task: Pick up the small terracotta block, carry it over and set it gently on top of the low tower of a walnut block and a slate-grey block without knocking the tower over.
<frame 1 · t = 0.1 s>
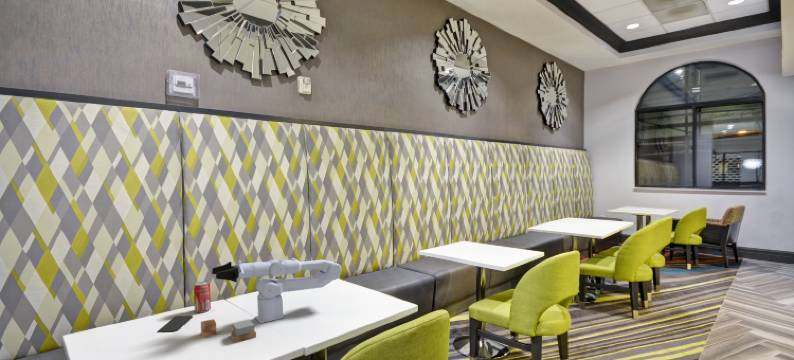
hand: (214, 273, 148), 22 cm above the table, tool horizontal, fingers open, 7 cm apart
tower top: (243, 331, 143), point 2 cm above the table
phone: (176, 325, 156), on the table
terracotta block: (208, 334, 146), on the table
tower base: (243, 337, 143), on the table
soda can: (202, 311, 170), on the table
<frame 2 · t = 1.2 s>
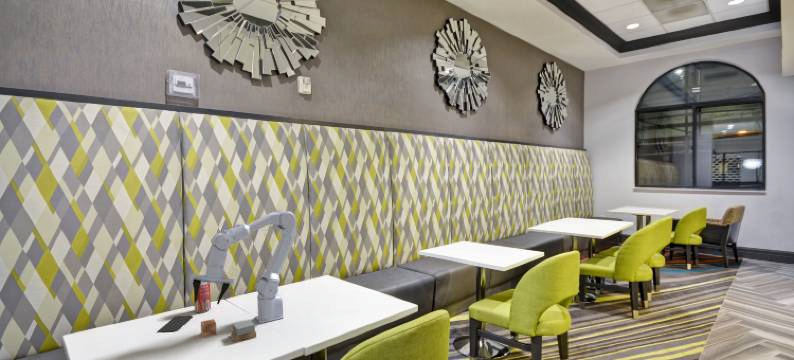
hand: (206, 302, 145), 12 cm above the table, tool tilted 15°, fingers open, 7 cm apart
tower top: (244, 331, 143), point 2 cm above the table, touching tower base
tower base: (243, 338, 143), on the table, touching tower top
everything else where it was.
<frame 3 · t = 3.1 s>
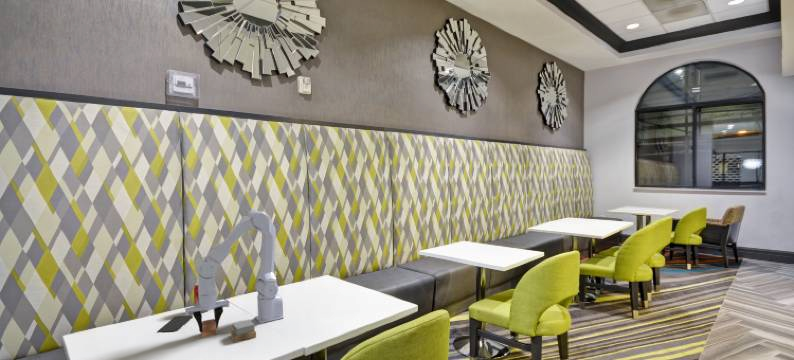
hand: (208, 329, 146), 2 cm above the table, tool pointing down, fingers closed on terracotta block, 4 cm apart
tower top: (243, 330, 143), point 2 cm above the table
terracotta block: (208, 334, 146), on the table, touching gripper
tower base: (243, 337, 143), on the table
everything else where it was.
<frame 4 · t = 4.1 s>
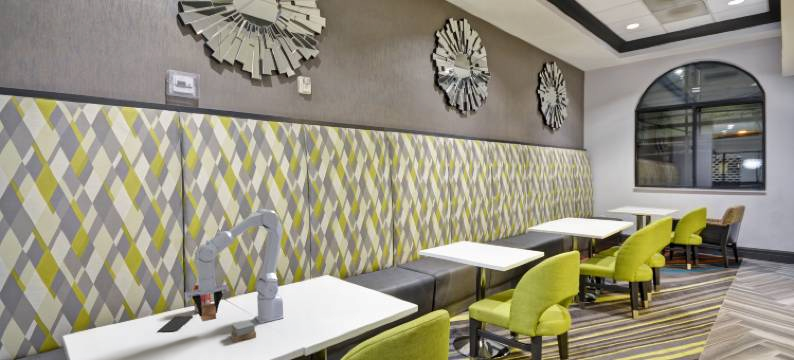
hand: (208, 313, 146), 8 cm above the table, tool pointing down, fingers closed on terracotta block, 4 cm apart
tower top: (243, 331, 143), point 2 cm above the table, touching tower base
terracotta block: (208, 318, 146), point 6 cm above the table, touching gripper
tower base: (243, 338, 143), on the table, touching tower top
everything else where it was.
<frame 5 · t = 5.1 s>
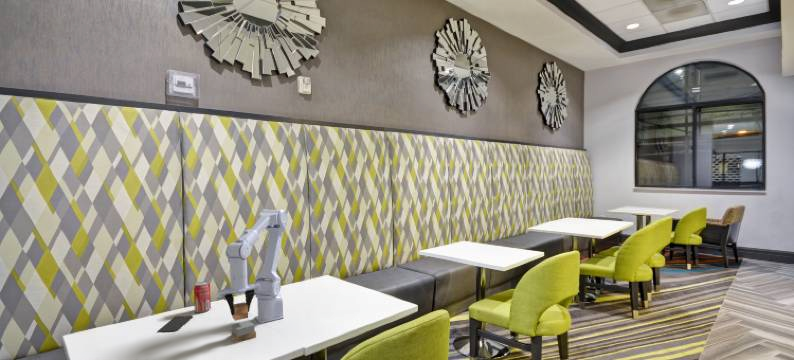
hand: (240, 312, 143), 9 cm above the table, tool pointing down, fingers closed on terracotta block, 4 cm apart
terracotta block: (240, 317, 143), point 7 cm above the table, touching gripper
everything else where it was.
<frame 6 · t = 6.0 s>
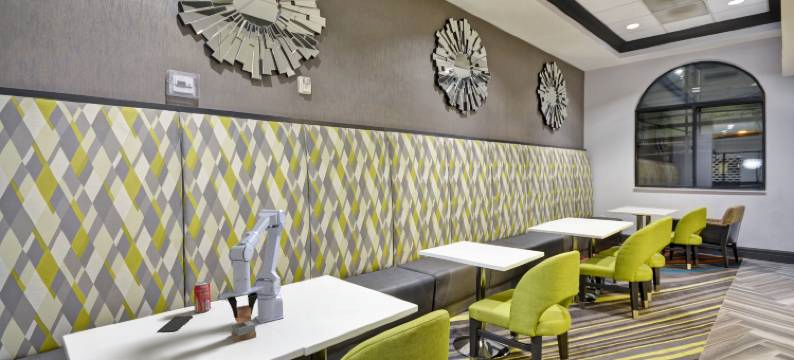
hand: (242, 315, 143), 8 cm above the table, tool pointing down, fingers closed on terracotta block, 4 cm apart
terracotta block: (243, 320, 143), point 6 cm above the table, touching gripper
everything else where it was.
when the fingers open (8 cm above the table, at t = 6.0 s): terracotta block drops 2 cm, resting on tower top.
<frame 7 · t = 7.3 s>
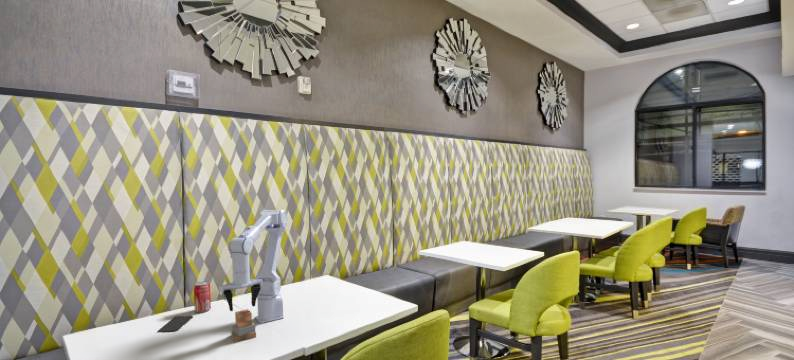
hand: (242, 308, 143), 10 cm above the table, tool pointing down, fingers open, 7 cm apart
tower top: (243, 331, 143), point 2 cm above the table, touching terracotta block, tower base
terracotta block: (243, 324, 143), point 4 cm above the table, touching tower top
everything else where it was.
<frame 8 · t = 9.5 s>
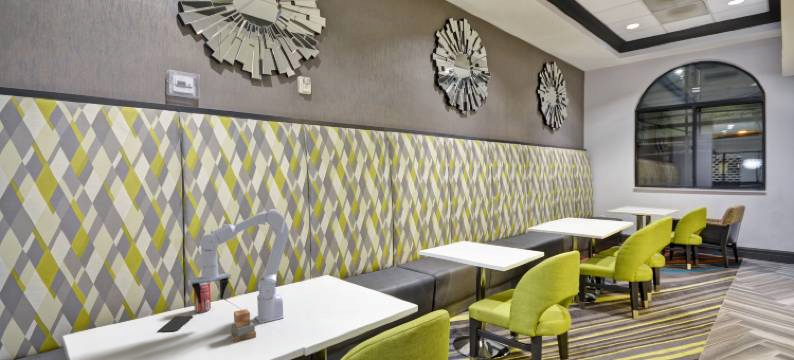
hand: (210, 300, 151), 10 cm above the table, tool pointing down, fingers open, 7 cm apart
nothing on the table moved.
at the end: terracotta block 0.3 cm off-centre on the tower top, point 2.5 cm above the tower top's base; tower top 0.0 cm off-centre on the tower base, point 2.5 cm above the tower base's base; terracotta block tilted 0° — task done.
